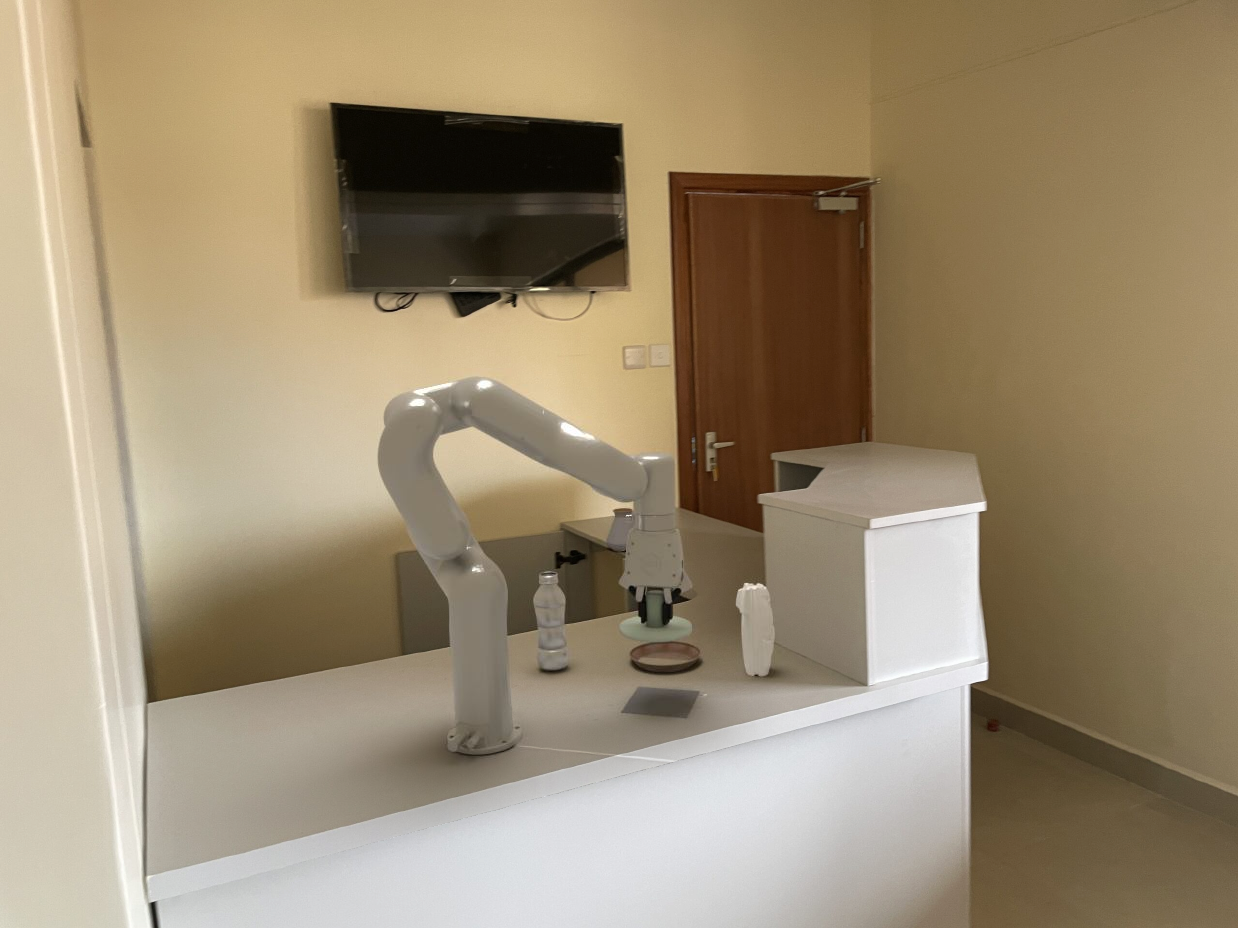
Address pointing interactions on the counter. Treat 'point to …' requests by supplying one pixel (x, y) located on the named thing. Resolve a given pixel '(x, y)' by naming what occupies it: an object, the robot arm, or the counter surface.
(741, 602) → the lumpy white ridged column
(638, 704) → the mat
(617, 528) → the coffee pot
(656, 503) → the robot arm
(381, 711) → the counter surface
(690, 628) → the lid
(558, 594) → the plastic bottle
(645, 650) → the saucer
